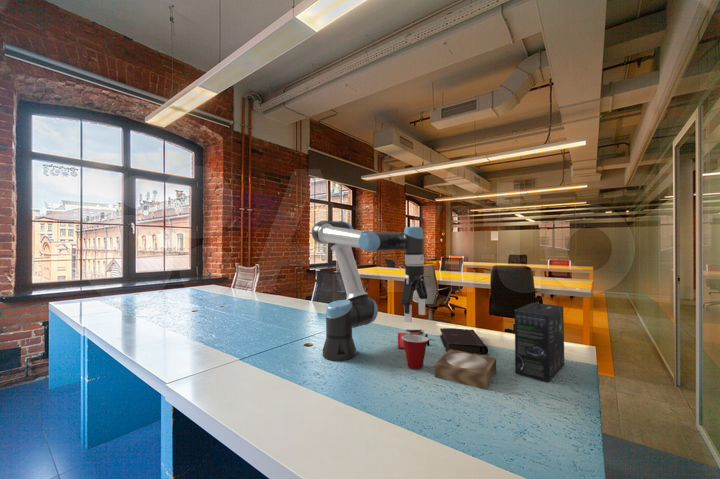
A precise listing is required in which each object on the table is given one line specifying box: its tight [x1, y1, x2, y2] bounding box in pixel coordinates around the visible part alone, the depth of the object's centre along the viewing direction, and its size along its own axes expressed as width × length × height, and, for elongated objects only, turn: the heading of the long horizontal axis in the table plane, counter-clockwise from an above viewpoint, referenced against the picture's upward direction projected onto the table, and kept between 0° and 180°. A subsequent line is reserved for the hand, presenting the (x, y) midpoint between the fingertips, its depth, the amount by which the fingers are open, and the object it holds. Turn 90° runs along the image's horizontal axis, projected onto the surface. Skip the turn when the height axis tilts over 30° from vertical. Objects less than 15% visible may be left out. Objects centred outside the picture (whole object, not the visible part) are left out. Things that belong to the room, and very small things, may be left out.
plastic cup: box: [402, 334, 430, 370], centre depth 124 cm, size 11×11×12 cm
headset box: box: [514, 301, 565, 383], centre depth 121 cm, size 22×12×26 cm, turn 134°
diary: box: [439, 327, 489, 356], centre depth 150 cm, size 19×25×5 cm
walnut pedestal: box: [434, 349, 497, 390], centre depth 117 cm, size 18×18×5 cm
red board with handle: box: [397, 329, 430, 350], centre depth 158 cm, size 30×3×15 cm
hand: (415, 318), depth 124 cm, fingers open, 13 cm apart
